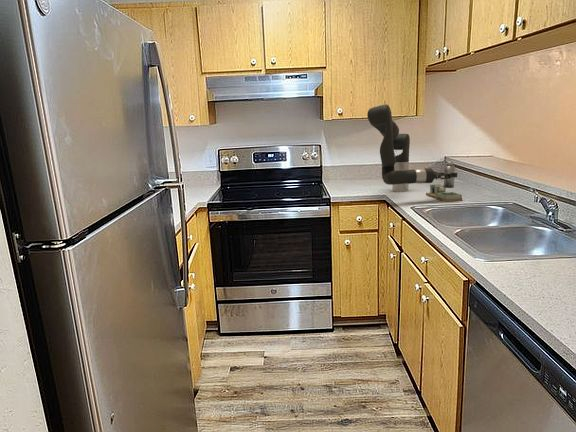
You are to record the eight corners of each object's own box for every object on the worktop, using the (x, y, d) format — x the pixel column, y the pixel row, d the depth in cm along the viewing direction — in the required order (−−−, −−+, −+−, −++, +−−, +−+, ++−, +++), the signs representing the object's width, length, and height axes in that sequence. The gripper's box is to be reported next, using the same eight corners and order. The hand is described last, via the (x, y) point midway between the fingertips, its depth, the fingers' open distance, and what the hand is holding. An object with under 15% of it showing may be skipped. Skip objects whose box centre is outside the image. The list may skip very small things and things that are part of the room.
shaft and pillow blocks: (430, 192, 248) (430, 183, 247) (438, 191, 248) (438, 183, 247) (437, 195, 239) (437, 186, 238) (446, 194, 240) (446, 185, 239)
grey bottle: (442, 186, 233) (442, 161, 230) (451, 186, 233) (452, 161, 231) (446, 188, 228) (447, 162, 225) (455, 187, 228) (457, 162, 226)
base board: (425, 195, 248) (425, 192, 247) (443, 193, 249) (443, 191, 248) (443, 201, 227) (443, 199, 227) (462, 200, 228) (462, 198, 228)
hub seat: (436, 196, 236) (436, 193, 235) (452, 195, 237) (453, 191, 236) (444, 199, 227) (444, 195, 227) (461, 198, 228) (461, 194, 228)
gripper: (428, 170, 220) (461, 168, 222) (417, 167, 234) (448, 165, 236) (428, 185, 221) (461, 183, 223) (416, 181, 235) (447, 179, 237)
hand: (454, 174), depth 230 cm, fingers closed on grey bottle, 5 cm apart
